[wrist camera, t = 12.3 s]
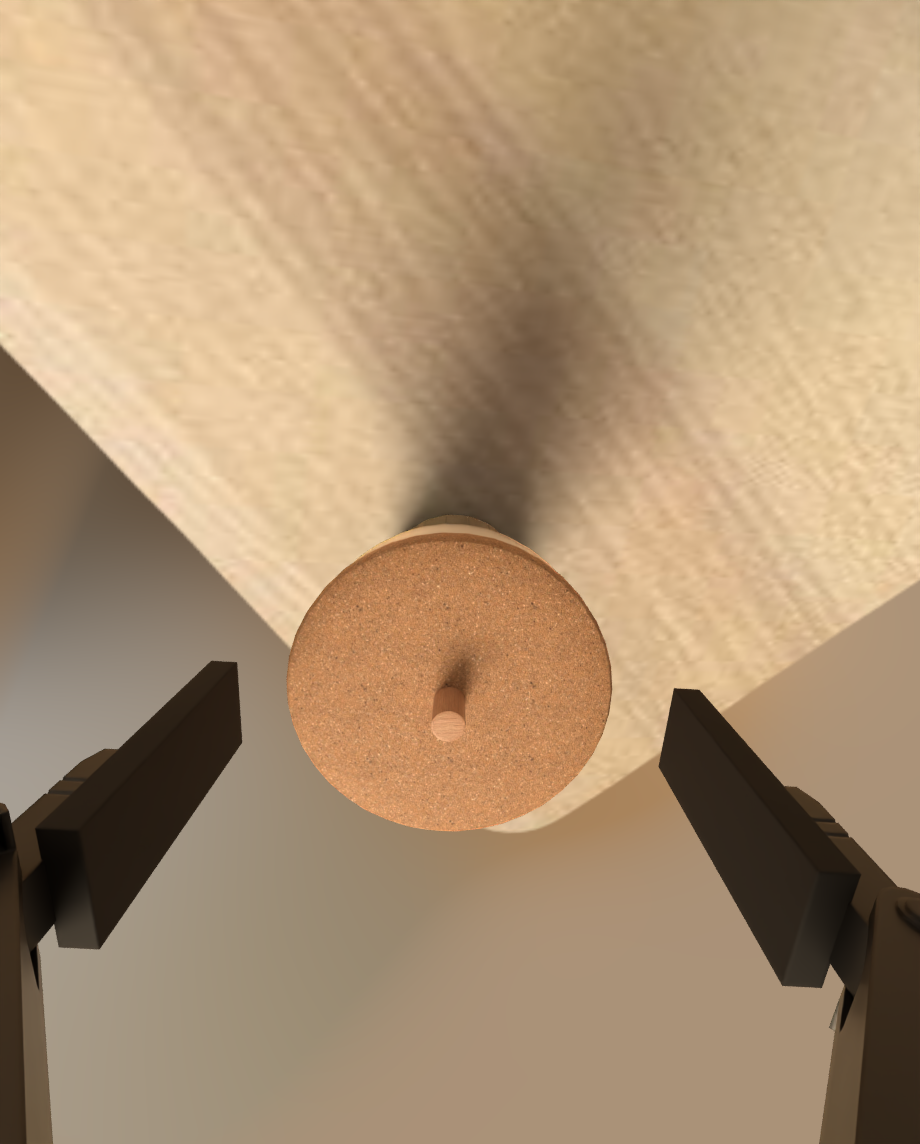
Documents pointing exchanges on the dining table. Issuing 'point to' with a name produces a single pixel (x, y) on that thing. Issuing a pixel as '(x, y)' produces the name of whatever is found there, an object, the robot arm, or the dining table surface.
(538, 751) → the trinket box
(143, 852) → the robot arm
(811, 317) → the dining table surface
